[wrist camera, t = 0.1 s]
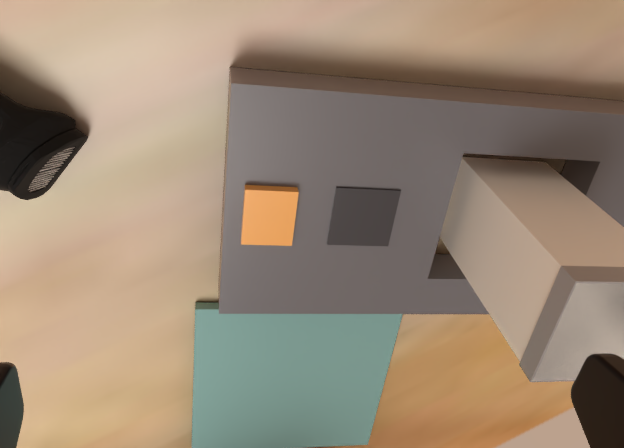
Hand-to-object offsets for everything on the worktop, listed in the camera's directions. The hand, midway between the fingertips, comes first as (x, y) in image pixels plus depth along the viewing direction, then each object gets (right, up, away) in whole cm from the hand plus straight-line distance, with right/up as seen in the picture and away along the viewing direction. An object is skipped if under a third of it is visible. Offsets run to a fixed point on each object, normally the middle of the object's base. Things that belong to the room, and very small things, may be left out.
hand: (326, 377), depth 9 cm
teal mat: (-1, -6, +20) cm, 21 cm away
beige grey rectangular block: (+8, +3, +17) cm, 19 cm away
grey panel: (+5, +4, +16) cm, 17 cm away
